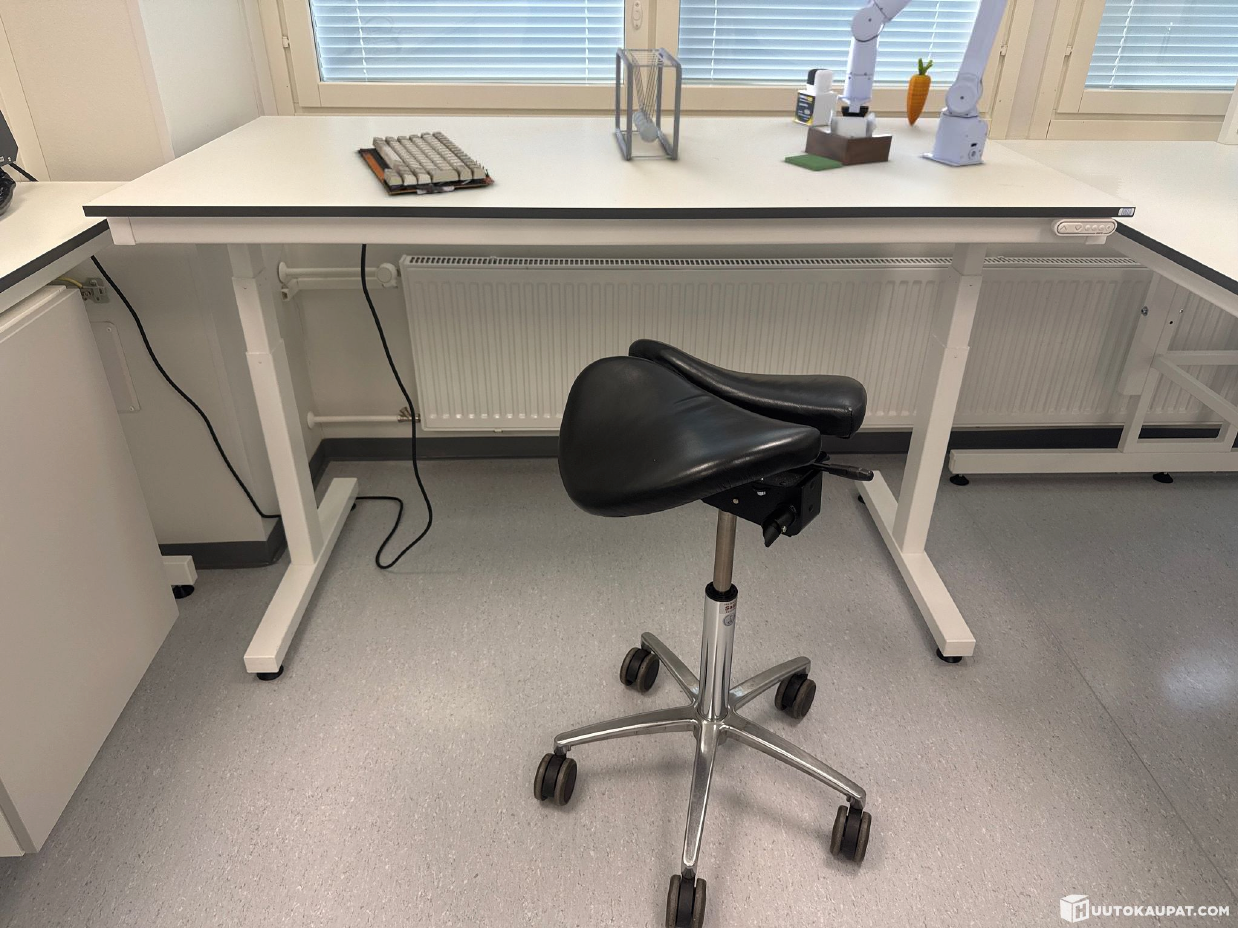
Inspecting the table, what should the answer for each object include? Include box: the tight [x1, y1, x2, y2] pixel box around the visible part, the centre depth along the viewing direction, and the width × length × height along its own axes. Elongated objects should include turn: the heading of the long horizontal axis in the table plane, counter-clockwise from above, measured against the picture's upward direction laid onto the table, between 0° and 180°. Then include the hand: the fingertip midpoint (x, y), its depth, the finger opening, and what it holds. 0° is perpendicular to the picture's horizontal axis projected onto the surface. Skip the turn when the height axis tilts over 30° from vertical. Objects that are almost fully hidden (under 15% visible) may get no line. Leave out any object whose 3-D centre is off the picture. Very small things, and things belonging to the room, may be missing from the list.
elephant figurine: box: [828, 110, 877, 138], centre depth 170 cm, size 10×12×9 cm
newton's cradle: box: [614, 46, 683, 161], centre depth 172 cm, size 30×10×18 cm, turn 5°
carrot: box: [906, 57, 934, 126], centre depth 197 cm, size 5×5×15 cm
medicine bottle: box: [794, 68, 840, 127], centre depth 198 cm, size 7×7×12 cm
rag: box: [784, 153, 843, 171], centre depth 165 cm, size 9×7×1 cm
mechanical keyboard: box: [356, 131, 495, 195], centre depth 156 cm, size 38×19×3 cm, turn 24°
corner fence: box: [804, 126, 894, 167], centre depth 170 cm, size 13×11×5 cm
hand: (849, 142), depth 177 cm, fingers closed, pressing on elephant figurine
